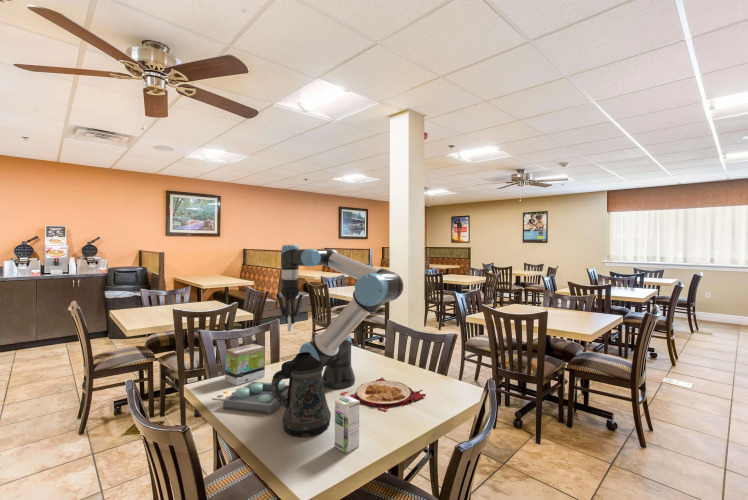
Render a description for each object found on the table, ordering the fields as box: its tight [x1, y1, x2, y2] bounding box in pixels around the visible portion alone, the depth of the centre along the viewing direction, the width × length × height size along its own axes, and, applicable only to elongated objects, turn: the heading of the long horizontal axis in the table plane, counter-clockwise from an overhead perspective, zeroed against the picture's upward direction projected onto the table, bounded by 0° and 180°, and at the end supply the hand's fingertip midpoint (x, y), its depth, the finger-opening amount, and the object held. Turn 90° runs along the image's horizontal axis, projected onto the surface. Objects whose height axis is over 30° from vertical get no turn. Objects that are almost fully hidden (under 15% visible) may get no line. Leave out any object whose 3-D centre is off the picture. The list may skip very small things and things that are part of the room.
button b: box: [259, 395, 272, 403], centre depth 138 cm, size 5×5×2 cm
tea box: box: [224, 343, 266, 387], centre depth 169 cm, size 15×10×15 cm
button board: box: [222, 381, 289, 415], centre depth 145 cm, size 20×20×3 cm
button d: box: [235, 387, 249, 399], centre depth 141 cm, size 5×5×2 cm
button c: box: [250, 383, 263, 394], centre depth 151 cm, size 5×5×2 cm
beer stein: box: [270, 352, 332, 438], centre depth 123 cm, size 16×19×25 cm
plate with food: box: [340, 377, 427, 413], centre depth 149 cm, size 25×26×4 cm
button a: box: [278, 380, 285, 391], centre depth 148 cm, size 5×5×2 cm
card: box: [212, 389, 236, 401], centre depth 149 cm, size 8×8×1 cm
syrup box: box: [333, 395, 361, 454], centre depth 111 cm, size 6×6×14 cm
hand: (290, 330), depth 163 cm, fingers closed
